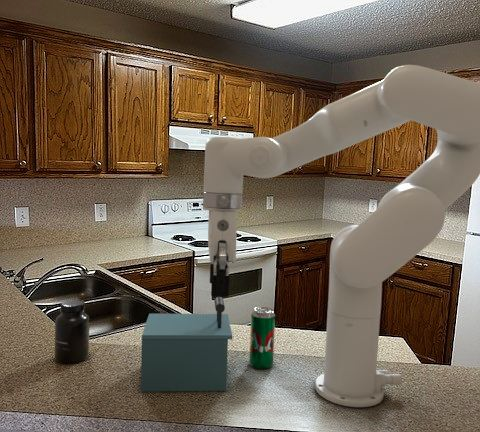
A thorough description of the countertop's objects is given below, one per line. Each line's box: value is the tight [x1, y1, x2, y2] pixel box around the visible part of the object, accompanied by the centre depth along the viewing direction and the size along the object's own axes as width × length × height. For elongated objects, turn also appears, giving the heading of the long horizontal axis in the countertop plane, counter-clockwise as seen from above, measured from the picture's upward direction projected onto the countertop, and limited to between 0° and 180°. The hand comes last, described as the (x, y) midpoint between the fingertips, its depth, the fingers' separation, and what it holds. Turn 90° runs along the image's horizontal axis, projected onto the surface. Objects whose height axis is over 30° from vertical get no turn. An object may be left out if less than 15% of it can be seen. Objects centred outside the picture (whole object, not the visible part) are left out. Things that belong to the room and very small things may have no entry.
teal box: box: [140, 338, 229, 393], centre depth 89 cm, size 16×13×10 cm
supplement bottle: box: [54, 299, 90, 365], centre depth 95 cm, size 7×7×12 cm
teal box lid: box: [141, 297, 233, 340], centre depth 88 cm, size 16×13×6 cm
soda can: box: [249, 306, 276, 370], centre depth 95 cm, size 5×5×12 cm
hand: (218, 289), depth 88 cm, fingers open, 9 cm apart
